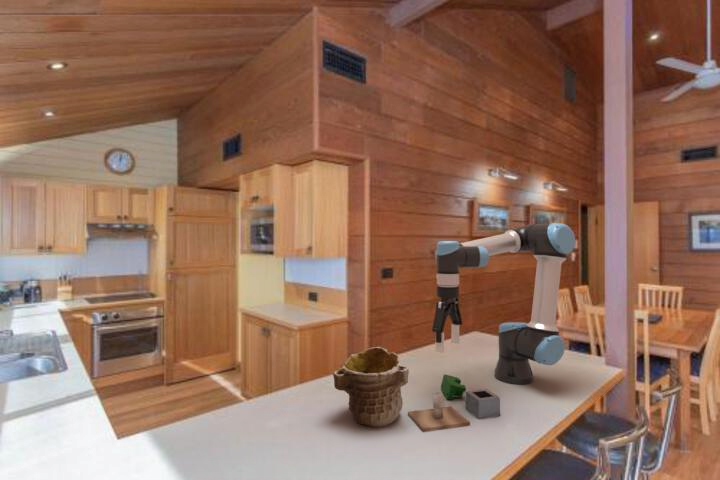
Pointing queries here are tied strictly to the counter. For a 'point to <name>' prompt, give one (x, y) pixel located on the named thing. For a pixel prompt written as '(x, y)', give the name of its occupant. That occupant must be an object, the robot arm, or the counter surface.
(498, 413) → the collar
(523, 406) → the counter surface
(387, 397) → the ceramic vessel
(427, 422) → the post board
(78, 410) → the counter surface
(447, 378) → the clamp
